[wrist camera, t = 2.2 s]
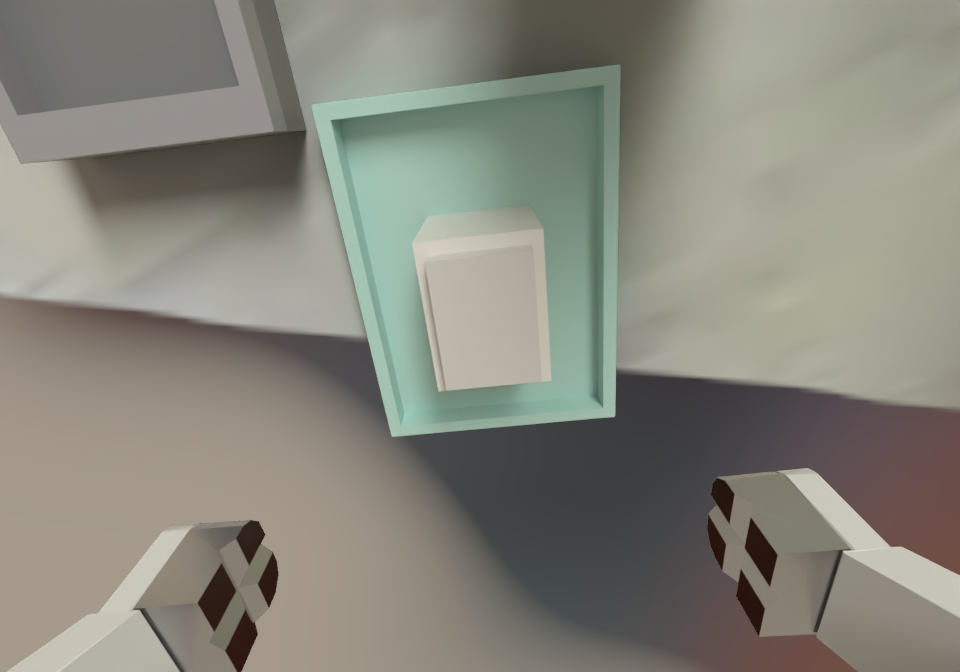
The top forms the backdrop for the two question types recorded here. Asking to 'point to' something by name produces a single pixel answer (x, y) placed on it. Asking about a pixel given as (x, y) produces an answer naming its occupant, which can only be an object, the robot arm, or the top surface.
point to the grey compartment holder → (141, 75)
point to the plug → (485, 297)
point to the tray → (472, 187)
